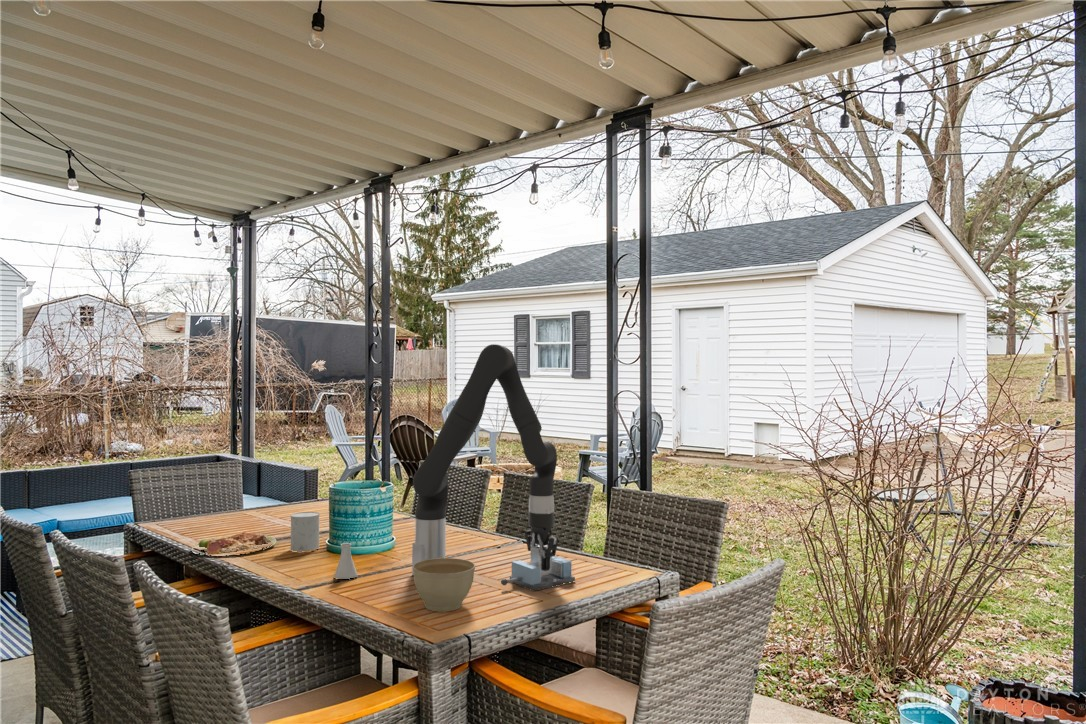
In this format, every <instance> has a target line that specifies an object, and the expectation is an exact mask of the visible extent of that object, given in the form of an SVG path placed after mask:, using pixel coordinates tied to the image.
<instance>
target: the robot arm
mask: <svg viewBox="0 0 1086 724" xmlns="http://www.w3.org/2000/svg"><path fill="white" fill-rule="evenodd" d="M477 358H478V359H477V360H476V363H475V365H474V368H473V370H472V372H471V375H470V377H469V379H468V380H467V382H466V384H465V386H464V388H463V389H462V391H461V393H460V394H459V396H458V398H457V400H456V401H455V403H454V405H453V406H452V408H451V410H450V412H449V414H448V415H447V417H446V419H445V421H444V423H443V425H442V427H441V429H440V432H439V433H438V435H437V437H436V439H435V441H434V444H433V445H432V448H431V450H429V453H428V455H426V457H425V459H424V460H423V462H422V464H421V465H420V466H419V467H418V469H417V470H416V472H415V473H414V475H413V478H412V487H413V490H414V492H415V493H416V494H417V495H418V500H417V505H416V507H415V511H414V515H415V517H414V519H415V520H414V523H415V525H414V538H415V539H414V542H413V543H412V549H411V550H412V552H411V553H412V556H411V558H412V563H411V564H412V565H411V569H412V570H411V571H412V572H411V574H412V575H413V576H414V571H413V565H414V564H416V563H418V562H420V561H423V560H428V559H436V558H446V543H447V541H446V539H447V538H446V536H447V535H446V532H447V531H446V527H447V521H446V520H447V519H446V516H447V509H448V501H449V500H448V499H449V498H448V496H449V476H448V473H447V472H448V470H449V468H450V467H451V464H452V463H453V461H454V460H455V458H456V457H457V456H458V454H459V453H460V452H461V451H462V449H463V448H464V447H465V445H466V444H467V443H468V442H469V440H470V439H471V437H472V436H473V434H474V433H475V431H476V429H477V428H478V425H479V424H480V422H481V419H482V418H483V417H482V416H483V414H484V410H485V406H486V403H487V402H486V401H487V398H488V394H489V393H490V390H491V389H492V387H493V385H494V383H495V382H496V381H498V383H499V384H500V386H501V389H502V390H503V393H504V396H505V398H506V402H507V406H508V410H509V414H510V417H511V419H512V421H513V424H514V426H515V428H516V430H517V433H518V434H519V437H520V441H521V447H522V450H523V454H524V456H525V458H526V460H527V461H528V463H529V464H530V465H531V466H532V467H534V472H533V474H532V475H531V476H530V479H529V498H528V526H529V527H530V530H525V532H524V534H525V541H526V546H527V551H528V552H531V546H536V545H540V548H541V550H542V556H543V558H542V570H543V571H547V570H549V569H550V557H552V556H556V552H557V550H558V545H559V541H560V540H559V537H558V536H557V537H555V536H554V535H553V530H552V528H553V527H554V525H555V499H554V498H555V497H554V479H555V473H556V468H557V460H558V454H557V453H558V452H557V450H556V447H555V446H554V444H553V443H551V442H549V441H544V440H543V437H542V436H541V435H542V434H541V431H542V424H541V422H540V420H539V418H538V416H537V413H536V411H535V408H533V405H532V403H531V401H530V399H529V396H528V394H527V392H526V389H525V387H524V385H523V382H522V380H521V377H520V374H519V370H518V367H517V363H516V359H515V356H514V354H513V352H512V351H511V350H510V349H509V348H508V347H506V346H504V345H501V344H498V343H492V344H488V345H487V346H485V347H484V348H483V349H482V350H481V352H480V354H479V355H478V357H477ZM545 545H547V546H546V547H544V546H545ZM546 549H547V553H546V551H545V550H546ZM551 550H552V552H551Z"/></svg>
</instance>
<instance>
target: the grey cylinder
mask: <svg viewBox="0 0 1086 724" xmlns="http://www.w3.org/2000/svg"><path fill="white" fill-rule="evenodd" d="M317 548H319V549H320V513H319V512H317V511H303V512H302V511H301V512H295V513H292V514H291V515H290V550H293V551H297V552H302V551H310V550H314V549H317Z"/></svg>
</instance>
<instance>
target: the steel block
mask: <svg viewBox="0 0 1086 724" xmlns="http://www.w3.org/2000/svg"><path fill="white" fill-rule="evenodd" d="M546 546H547V545H545V546H544V547H546ZM545 551H546V553H547V549H546V550H545ZM551 552H552V550H551ZM542 558H543V556H542V550H541V548H540V545H536V546H531V551H530V564H533V565H535V566H538V567H541V576H543V575H548V574H552V557H550V569H549V570H547V571H543V570H542Z"/></svg>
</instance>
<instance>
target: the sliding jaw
mask: <svg viewBox="0 0 1086 724" xmlns="http://www.w3.org/2000/svg"><path fill="white" fill-rule="evenodd" d="M511 576H512V577H513V579H510V578H509V579H506V578H502V579H500V580H501V582H500V584H501V585H502V586H506V585H508V584H510V583H512V582H516V581H523V582H526V583H528V584H531V585H534V584H538V583H540V582H541V567H538V566H535V565H533V564H531V562H530V563H529V562H526V561H523V560H521V559H519V560H513V561H511Z"/></svg>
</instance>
